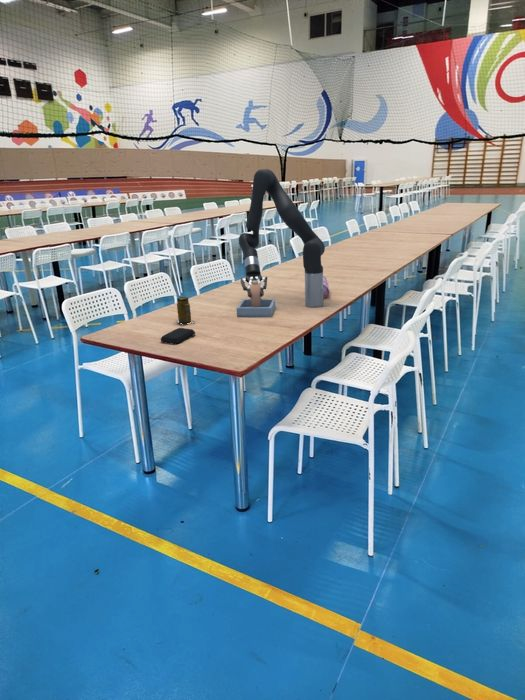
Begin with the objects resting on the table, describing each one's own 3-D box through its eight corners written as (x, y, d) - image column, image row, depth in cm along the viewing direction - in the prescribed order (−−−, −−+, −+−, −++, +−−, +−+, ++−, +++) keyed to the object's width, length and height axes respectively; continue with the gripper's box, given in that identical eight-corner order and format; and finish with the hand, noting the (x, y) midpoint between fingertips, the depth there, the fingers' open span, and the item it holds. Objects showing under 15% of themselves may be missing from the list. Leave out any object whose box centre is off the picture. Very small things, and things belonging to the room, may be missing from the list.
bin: (275, 307, 246) (275, 299, 244) (271, 317, 231) (271, 308, 230) (243, 307, 249) (242, 299, 247) (237, 316, 234) (236, 308, 232)
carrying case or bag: (179, 346, 200) (199, 335, 212) (178, 339, 199) (198, 328, 211) (159, 343, 205) (179, 332, 217) (158, 336, 203) (179, 326, 216)
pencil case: (329, 299, 256) (329, 283, 253) (311, 299, 257) (311, 283, 254) (328, 289, 276) (328, 274, 273) (312, 290, 277) (312, 274, 274)
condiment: (189, 319, 234) (186, 295, 230) (195, 323, 227) (193, 299, 223) (175, 321, 231) (172, 297, 227) (181, 326, 224) (178, 301, 220)
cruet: (261, 304, 241) (261, 279, 236) (260, 307, 236) (259, 282, 231) (251, 304, 242) (250, 279, 237) (250, 306, 237) (248, 282, 232)
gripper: (238, 264, 238) (241, 293, 231) (266, 262, 239) (271, 291, 233) (238, 272, 245) (241, 301, 238) (265, 270, 246) (269, 299, 239)
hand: (256, 296), depth 235 cm, fingers closed on cruet, 5 cm apart
